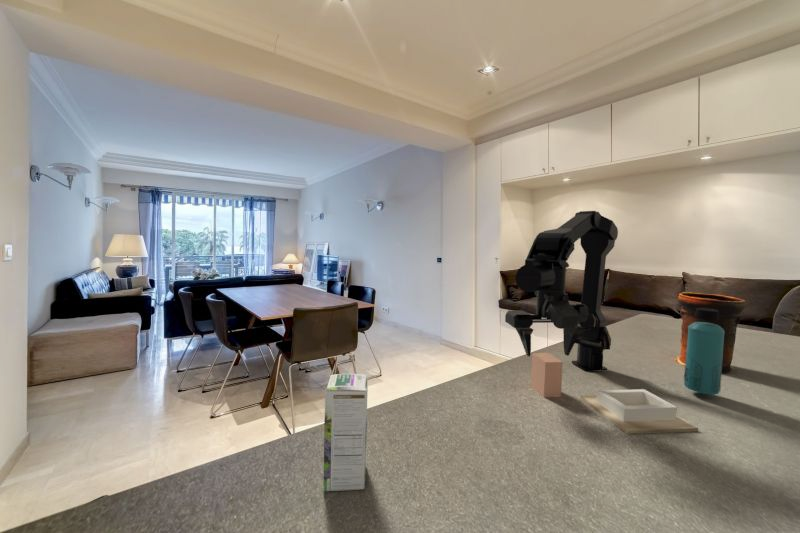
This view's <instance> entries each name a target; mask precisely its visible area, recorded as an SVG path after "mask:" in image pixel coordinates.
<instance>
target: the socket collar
mask: <svg viewBox="0 0 800 533" xmlns="http://www.w3.org/2000/svg"><path fill="white" fill-rule="evenodd" d="M596 395H597V398H596V402H597V403H599V404H600V405H601V406H603V407H604V408H606V409H607V410H608V411H610V412H611V413H612V414H614V415H615V416H617V417H618V418H619V419H621V420H622V421H623V422H627V421H656V420H676V415H677V414H678V412H677V411H678V407H677V406H675V405H673V404H672V403H670V402H668V401H666V400H664V399H663V398H661V397H659V396H657V395H655V394H654V393H652V392H651V391H648V390H647V389H645V388H640V389H638V388H637V389H603V390H601V389H600V390H596ZM633 403H643V404H645V405H635V406H625V405H624V404H633Z"/></svg>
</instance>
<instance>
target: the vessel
mask: <svg viewBox="0 0 800 533" xmlns="http://www.w3.org/2000/svg"><path fill="white" fill-rule="evenodd" d="M677 301H678V303H679V304H680V306H681V307H682V309H681V310H680V312H679V314H680V317H681V320H682V323H681V326H680V328H681V334H680V335H681V338H680V340H679V341H680V355H679V356H675V357H674V361H675V362H676V363H678V364H680V365H682V366H685V363H686V360H685V359H686V357H685V356H686V351H687V346H686V345H687V340H688V326H689V325H691V324H692V323H694V322H706V323H712V324H716V325H719V326H720V327H721V328H722V329H723V330H724V331H725V333H724V343H723V360H722V361H723V362H722V364H723V365H722V367H723V368H722V372H721V374H737V371H738V369H737V368H736V367H733V366H731V364H732V363H733V362H732V361H733V357H734V349H735V345H736V344H735V342H736V338H737V335H736V334H737V327H738V324H740V321H741V314H742V312H743V311H744V310H745V309H746V307H747V301H746V300H745V299H743V298H742V299H741V298H739V297H734V296H728V295H723V294H715V293H714V294H710V293H702V292H701V293H700V292H683V291H682V292H681V293H679V294H678V296H677ZM697 308H707V309H714V310H718V311H719V320H706V319H700V318H696V317H695V313H696V309H697Z"/></svg>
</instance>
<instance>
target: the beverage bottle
mask: <svg viewBox="0 0 800 533" xmlns="http://www.w3.org/2000/svg"><path fill="white" fill-rule="evenodd" d="M695 317H696V318H700V319H706V320H719V311H718V310H714V309H707V308H697V309H696V313H695ZM724 333H725V331H724V330H723V329H722V328H721V327H720V326H719V325H716V324H712V323H706V322H694V323H692V324H691V325H689V326H688V340H687V345H686V346H687V351H686V356H685V357H686V359H685V360H686V363H685V365H683V366H684V374H683V384H684V386H685V388H687V389H688V390H690V391H693V392H696V393H699V394H700V393H701V394H704V395H715V396H716V395H718V394H719V393H720V391H722V390H721V388H722V387H721V385H722V373H721V372H722V368H723V367H722V365H723V364H722V362H723V361H722V360H723V343H724Z"/></svg>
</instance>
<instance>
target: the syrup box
mask: <svg viewBox="0 0 800 533" xmlns="http://www.w3.org/2000/svg"><path fill="white" fill-rule="evenodd" d="M368 379H369V378H368V375H367V374H361V373H337V374H336V373H335V374H330V376H329V380H328V383H327V386H326V390H325V392H324V423H323V426H324V427H323V429H324V431H323V432H324V433H323V435H324V436H323V441H324V442H323V491H324V492H339V491H340V492H341V491H343V492H344V491H355V490H357V491H358V490H360V491H361V490H365V487H366V484H365V483H366V463H367V461H366V460H367V458H366V457H367V432H368V431H367V429H368V391H369V390H368V388H369V387H368V385H369V383H368Z"/></svg>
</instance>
